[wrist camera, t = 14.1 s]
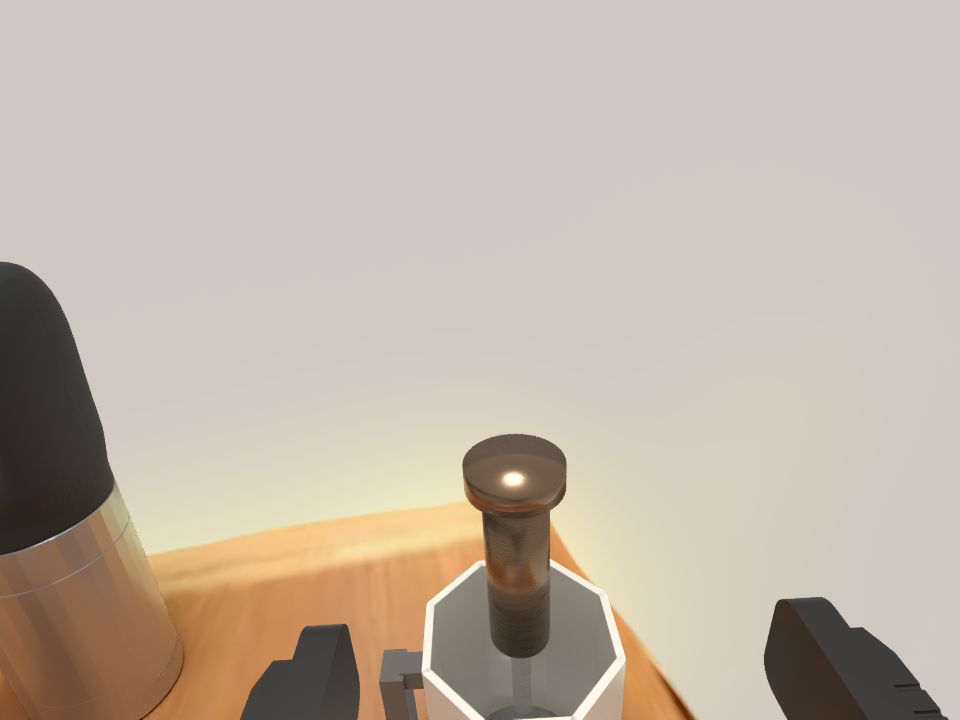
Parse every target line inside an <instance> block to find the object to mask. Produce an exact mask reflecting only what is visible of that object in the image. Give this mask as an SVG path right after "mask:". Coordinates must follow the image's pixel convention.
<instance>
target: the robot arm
mask: <svg viewBox="0 0 960 720" xmlns="http://www.w3.org/2000/svg"><path fill="white" fill-rule="evenodd" d="M183 658H184V655H183V647H182V645H181V642H180V640H179V638H178V635H177V633H176V630H175V628H174V625H173V623H172V620H171V618H170V615H169V612H168V610H167V607H166V605H165V602H164V600H163V597H162V595H161V592H160V590H159V587H158V585H157V582H156V580H155V577H154V575H153V572H152V570H151V567H150V565H149V562H148V560H147V557H146V555H145V552H144V550H143V547H142V545H141V543H140V540H139V537H138V535H137V532H136V530H135V528H134V526H133V523H132V520H131V518H130V515H129V513H128V511H127V508H126V506H125V503H124V501H123V498H122V496H121V493H120V491H119V488H118V486H117V483H116V481H115V478H114V476H113V473H112V471H111V468H110V465H109V463H108V458H107V451H106V445H105V438H104V432H103V428H102V424H101V421H100V418H99V415H98V412H97V409H96V406H95V403H94V401H93V398H92V395H91V391H90V388H89V385H88V382H87V379H86V376H85V373H84V369H83V366H82V363H81V360H80V356H79V353H78V350H77V347H76V343H75V340H74V337H73V335H72V332H71V329H70V326H69V323H68V321H67V319H66V317H65V314H64V313H63V310H62V308H61V306H60V304H59V302H58V301H57V299H56V297H55V296H54V294H53V293H52V291H51V290H50V289H49V288H48V286H47V285H46V284H45V283H44V282H43V281H42V280H41V279H40V278H39V277H38V276H37V275H35V274H34V273H33V272H31V271H30V270H28V269H26V268H25V267H23V266H20V265H17V264H13V263H9V262H0V670H1V672H2V673H3V675H4V677H5V678H6V680H7V682H8V683H9V685H10V686H11V688H12V690H13V691H14V693H15V695H16V696H17V698H18V699H19V701H20V703H21V704H22V706H23V708H24V709H25V711H26V712H27V714H28V716H29V717H30V719H31V720H139V719H141V718H142V717H144V716H145V715H146V714H148V713H149V712H150V711H151V710H152V709H153V708H154V707H155V706H156V705H157V704H158V703H159V702H160V701H161V700H162V699H163V698H164V697H165V695H166V694H167V693H168V692H169V691H170V689H171V688H172V686H173V684H174V683H175V681H176V680H177V678H178V676H179V673H180V671H181V668H182V664H183ZM764 665H765V671H766V675H767V679H768V682H769V685H770V687H771V690H772V692H773V693H774V695H775V697H776V699H777V701H778V703H779V705H780V707H781V709H782V711H783V712H784V714H785V716H786V718H787V720H948V718H947V717H943V716H942V714H941V711H940V708H939V707H938V706H937V705H936V703H935V702H934V701H933V700H932V699H931V697H930V696H929V695H928V693H927V692H926V691H925V690H922V689H921V688H920V684H919V682H918V681H917V680H916V679H915V677H914V676H913V675H912V674H911V672H910V671H909V670H908V668H907V667H906V666H905V665H904V664H903V662H902V661H901V660H900V658H898V656H897V655H896V654H895V653H894V652H893V651H892V650H891V649H889V648H888V647H887V646H886V645H884V644H883V643H882V642H881V641H879V640H878V639H877V638H876V637H874V636H873V635H872V634H870V633H869V632H868V631H867V630H865V629H864V628H863V627H860V628H850V627H849V626H848V624H847V623H846V622H845V620H844V619H843V618H842V616H841V615H840V614H839V612H838V611H837V610H836V608H835V607H834V606H833V605H832V603H830V602H829V601H828V600H827V599H825V598H823V597H812V598H795V599H781V600H779V601H778V602H777V603H776V606H775V610H774V614H773V619H772V623H771V627H770V631H769V636H768V640H767V645H766V648H765V653H764ZM359 700H360V683H359V675H358V670H357V666H356V661H355V657H354V652H353V647H352V643H351V638H350V634H349V629H348V627H347V625H346V624H335V625H318V626H306V627H305V628H304V629H303V630H302V632H301V634H300V637H299V640H298V643H297V647H296V650H295V653H294V656H293V659H292V660H279V661H273V662H272V663H271V664H270V666H269V667H268V668H267V670H266V671H265V672H264V674H263V675H262V676H261V677H260V679H259V680H258V681H257V683H256V684H255V685H254V687H253V688H252V689H251V692H250V694H249V697H248V700H247V702H246V705H245V708H244V710H243V713H242V716H241V718H240V720H357V718H358V711H359Z"/></svg>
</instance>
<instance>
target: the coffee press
mask: <svg viewBox="0 0 960 720" xmlns="http://www.w3.org/2000/svg"><path fill="white" fill-rule="evenodd" d="M625 667H626V658H625V654H624V651H623V648H622V644H621V641H620V638H619V634H618V631H617V627H616V624H615V621H614V617H613V614H612V611H611V607H610V604H609V600H608V597H607V594H606V593H605V592H604V591H603V590H601V589H599V588H598V587H596V586H594V585H593V584H591V583H589V582H588V581H586V580H584V579H583V578H581V577H579V576H578V575H576V574H574V573H573V572H571V571H569V570H568V569H566V568H564V567H563V566H561V565H559V564H558V563H556V562H554V561H553V560H551V559H550V638H549V641H548V644H547V645H546V647H545V648H544V649H543V650H542V651H541V652H540V653H538V654H537V655H535V656H532V657H531V693H532V706H537V707H541V708H544V709H546V710H549V711H551V712H553V713H554V714H556V715H558V716H559V717H552V718H535V719H518V720H621V716H622V704H623V692H624V679H625ZM379 684H380V689H381V694H382V699H383V704H384V709H385V714H386V719H387V720H418V717H417V711H416V704H415V698H414V692H413V689H424V692H425V699H426V706H427V713H428V720H485V719H484V718H486V717H487V716H488V715H490V714H491V713H493V712H495V711H497V710H499V709H502V708H505V707H508V706H513V685H512V663H511V657H509V656H507V655H505V654H503V653H502V652H500V651H499V650H498V649H497V648H496V647H495V645H494V644H493V642H492V640H491V636H490V623H489V608H488V593H487V578H486V563H485V561H479V562H476V563H475V564H474V565H473V566H471V567H470V568H469V569H468V570H467V571H465V572H464V573H463V574H462V575H461V576H459V577H458V578H457V579H456V580H455V581H453V582H452V583H451V584H450V585H448V586H447V587H446V588H445V589H444V590H442V591H441V592H440V593H439V594H438V595H436V596H435V597H434V598H433V599H432V600H430V601H429V602H428V604H427V609H426V622H425V634H424V647H423V652H407V649H394V650H384V654H383V661H382V667H381V674H380V681H379Z"/></svg>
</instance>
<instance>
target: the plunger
mask: <svg viewBox="0 0 960 720" xmlns="http://www.w3.org/2000/svg"><path fill="white" fill-rule="evenodd" d="M463 478H464V490H465V494H466V497H467V499H468V500H469V502H470V503H471V504H472V505H473V506H474V507H475V508H477V509H478V510H480V511H482V518H483V533H484V548H485V563H486V578H487V593H488V608H489V623H490V636H491V640H492V642H493V644H494V645H495V647H496V648H497V649H498V650H499V651H500V652H502V653H503V654H505V655H507V656H509V657H511V663H512V685H513V706H508V707H505V708H502V709H499V710H497V711H495V712H493V713H491V714H490V715H488V716H487V717H486V718H484V719H485V720H518V719H535V718H552V717H559V716H558V715H556V714H554V713H553V712H551V711H549V710H546V709H544V708H541V707H537V706H532V693H531V657H532V656H535V655H537V654H538V653H540V652H541V651H542V650H543V649H544V648H545V647H546V645H547V644H548V641H549V638H550V510H551V509H553V508H554V507H555V506H557V505H558V504H559V503H560V502H561V500H562V499H563V497H564V495H565V492H566V458H565V456H564V454H563V452H562V451H561V450H560V449H559V448H558V447H557V446H556V445H554V444H553V443H551V442H549V441H547V440H545V439H542V438H540V437H536V436H531V435H524V434H507V435H500V436H495V437H491V438H489V439H486V440H484V441H481V442H479V443H478V444H476V445H475V446H473V447H472V448H471V449H470V450H469V451H468V452H467V453H466V455H465V457H464V459H463Z"/></svg>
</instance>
